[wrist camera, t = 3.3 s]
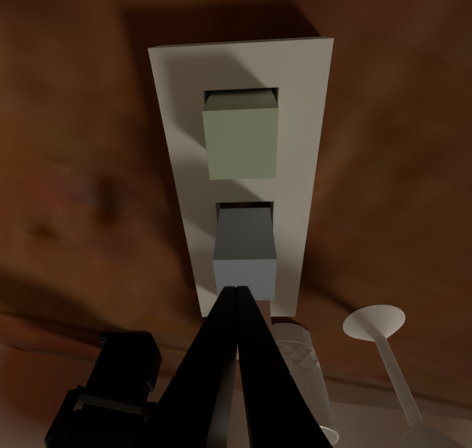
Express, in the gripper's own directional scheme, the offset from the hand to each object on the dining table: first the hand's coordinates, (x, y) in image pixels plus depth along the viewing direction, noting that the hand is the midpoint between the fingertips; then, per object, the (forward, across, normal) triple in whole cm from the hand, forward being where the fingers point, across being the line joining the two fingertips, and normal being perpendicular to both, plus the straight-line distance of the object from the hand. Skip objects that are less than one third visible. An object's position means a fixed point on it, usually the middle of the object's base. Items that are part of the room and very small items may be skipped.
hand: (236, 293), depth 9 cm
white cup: (+13, -4, +23) cm, 27 cm away
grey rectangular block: (+9, 0, +4) cm, 10 cm away
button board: (+12, 0, +4) cm, 13 cm away
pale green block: (+11, 0, -3) cm, 12 cm away
